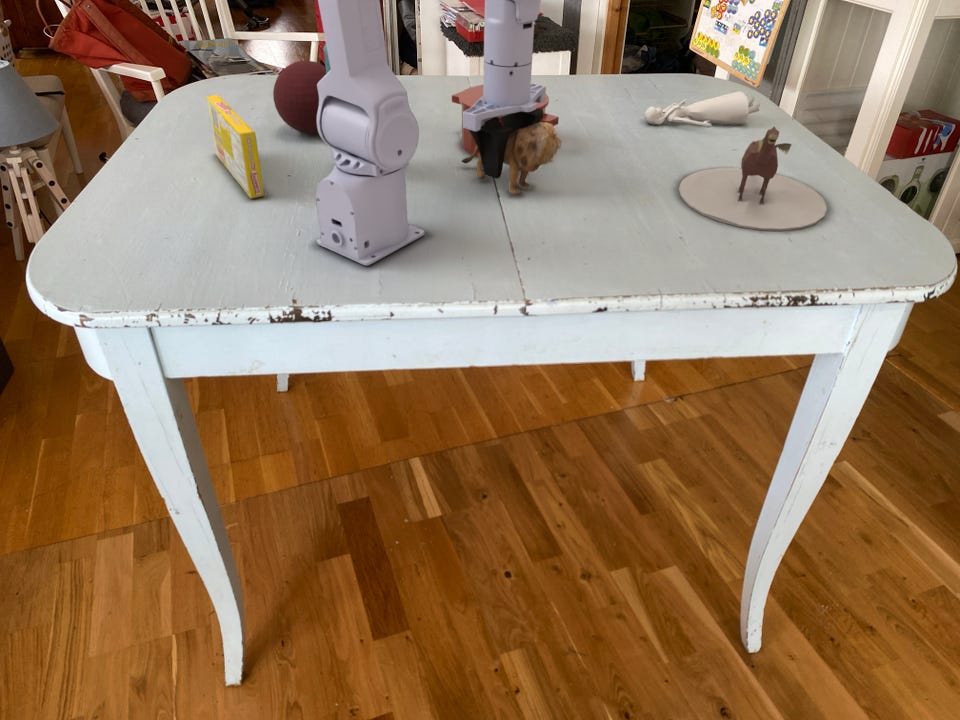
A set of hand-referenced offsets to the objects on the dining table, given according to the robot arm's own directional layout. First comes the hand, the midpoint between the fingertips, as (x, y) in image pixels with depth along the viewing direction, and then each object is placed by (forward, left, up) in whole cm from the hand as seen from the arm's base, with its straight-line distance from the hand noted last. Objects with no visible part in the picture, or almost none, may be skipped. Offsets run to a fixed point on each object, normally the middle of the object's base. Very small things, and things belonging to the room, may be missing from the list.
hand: (503, 170), depth 92 cm
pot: (+10, +8, -2) cm, 13 cm away
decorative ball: (-4, +33, -2) cm, 33 cm away
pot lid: (+10, +8, +5) cm, 14 cm away
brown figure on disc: (+16, -27, -2) cm, 32 cm away
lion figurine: (0, -1, -2) cm, 2 cm away
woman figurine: (+38, -10, -2) cm, 40 cm away
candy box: (-21, +28, -2) cm, 35 cm away
